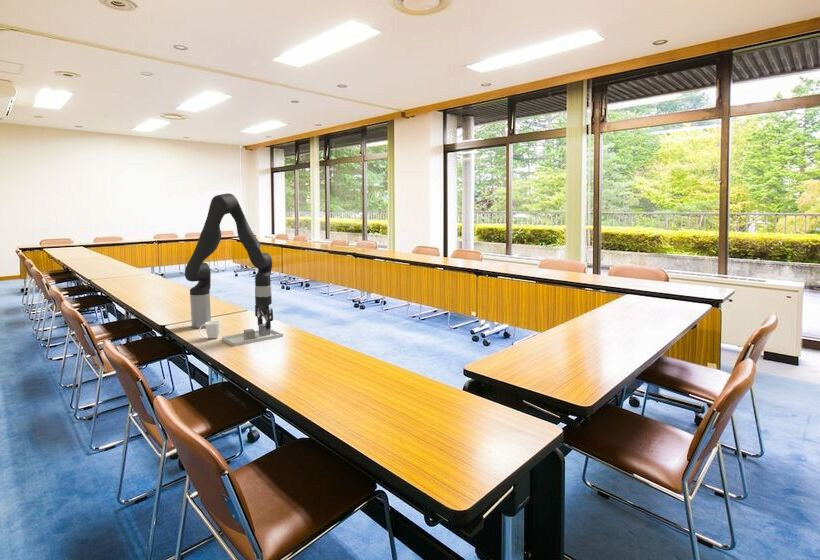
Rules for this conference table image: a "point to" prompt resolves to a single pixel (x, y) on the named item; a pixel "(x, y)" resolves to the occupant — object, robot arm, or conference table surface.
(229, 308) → the conference table surface
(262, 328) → the matte grey cube
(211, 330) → the cup
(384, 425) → the conference table surface
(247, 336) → the stone
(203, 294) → the robot arm
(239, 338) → the divided tray
